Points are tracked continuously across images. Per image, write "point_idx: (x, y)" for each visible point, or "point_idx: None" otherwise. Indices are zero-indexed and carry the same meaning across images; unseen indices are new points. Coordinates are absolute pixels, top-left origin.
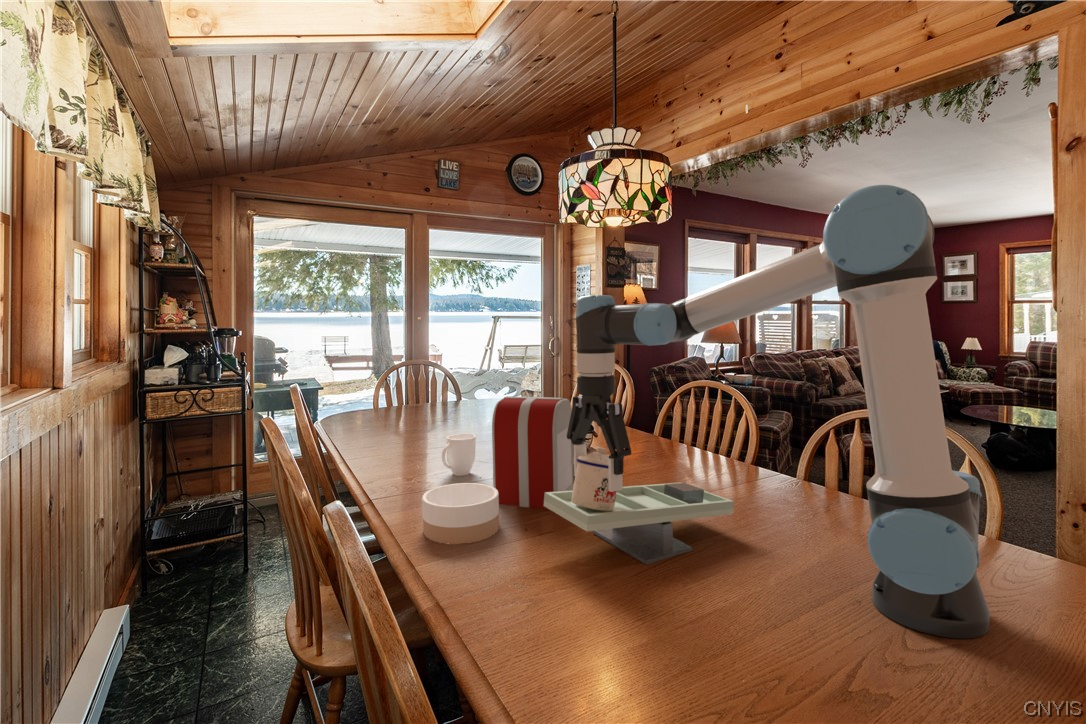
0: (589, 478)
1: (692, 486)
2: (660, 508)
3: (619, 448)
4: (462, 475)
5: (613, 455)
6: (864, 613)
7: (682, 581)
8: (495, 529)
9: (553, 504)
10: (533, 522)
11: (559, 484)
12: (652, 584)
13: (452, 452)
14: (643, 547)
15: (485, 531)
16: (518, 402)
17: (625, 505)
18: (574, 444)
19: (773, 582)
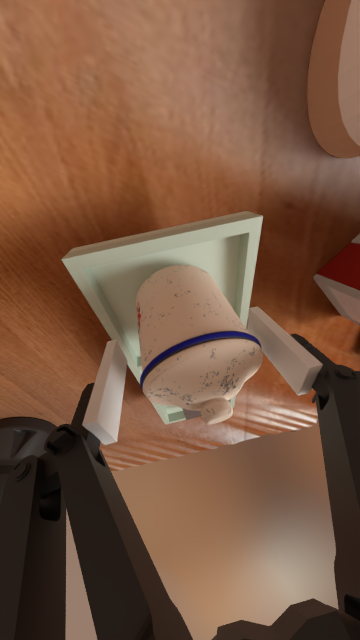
0: (153, 323)
1: (199, 415)
2: (136, 377)
3: (2, 504)
4: None
5: (49, 446)
6: (21, 410)
7: (80, 332)
8: (319, 131)
9: (211, 222)
10: (302, 228)
11: (348, 298)
12: (76, 304)
13: None
14: None
15: (319, 86)
16: None
17: None
18: (328, 367)
19: (73, 387)
